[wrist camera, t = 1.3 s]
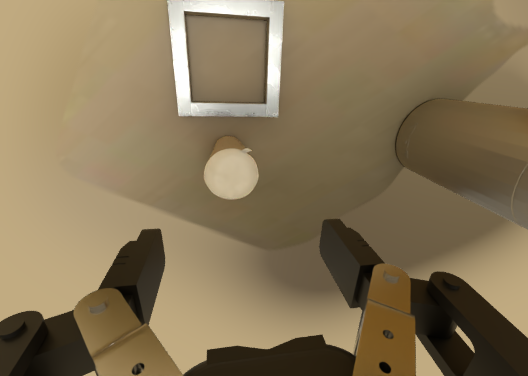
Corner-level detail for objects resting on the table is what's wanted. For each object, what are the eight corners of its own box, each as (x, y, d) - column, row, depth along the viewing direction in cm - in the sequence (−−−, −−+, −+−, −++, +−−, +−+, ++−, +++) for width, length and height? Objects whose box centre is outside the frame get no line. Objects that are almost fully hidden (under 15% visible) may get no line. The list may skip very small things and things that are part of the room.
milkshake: (258, 133, 29) (276, 160, 20) (238, 174, 30) (246, 217, 21) (220, 115, 27) (221, 135, 18) (201, 159, 29) (193, 198, 20)
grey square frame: (280, 5, 24) (284, 1, 23) (275, 114, 28) (277, 116, 27) (169, -4, 22) (166, -9, 21) (180, 113, 27) (178, 115, 25)
